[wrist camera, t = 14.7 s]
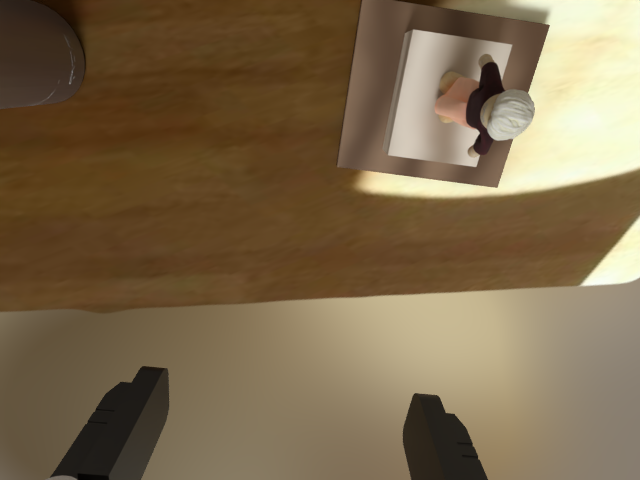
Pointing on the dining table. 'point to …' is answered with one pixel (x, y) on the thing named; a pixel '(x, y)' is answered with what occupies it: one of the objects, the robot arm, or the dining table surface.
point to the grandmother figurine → (484, 106)
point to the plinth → (382, 77)
